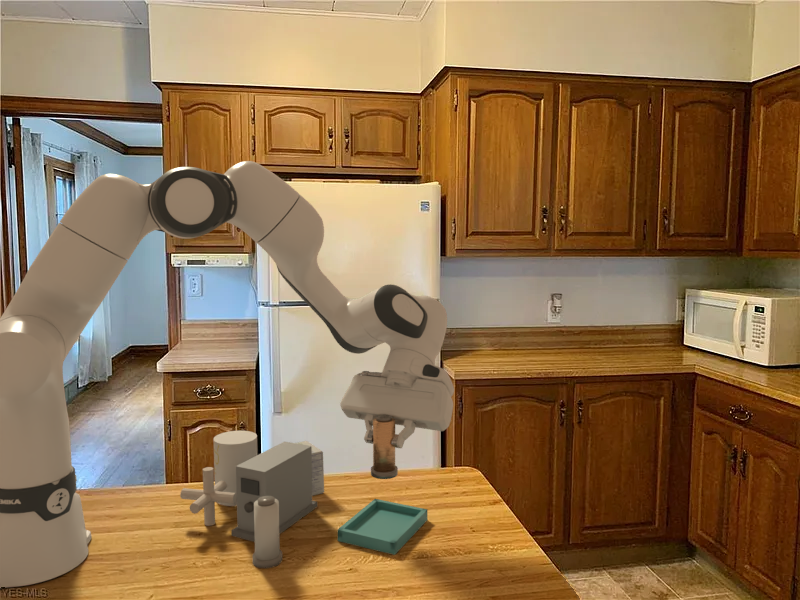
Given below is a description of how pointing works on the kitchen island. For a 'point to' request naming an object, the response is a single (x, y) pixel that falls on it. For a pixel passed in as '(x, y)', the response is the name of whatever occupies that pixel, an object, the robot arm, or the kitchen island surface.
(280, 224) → the robot arm
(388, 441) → the copper cartridge
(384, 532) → the tray
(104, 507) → the kitchen island surface
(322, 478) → the medicine box
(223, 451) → the light grey cylinder
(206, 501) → the pipe connector
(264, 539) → the cylinder
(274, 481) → the box
